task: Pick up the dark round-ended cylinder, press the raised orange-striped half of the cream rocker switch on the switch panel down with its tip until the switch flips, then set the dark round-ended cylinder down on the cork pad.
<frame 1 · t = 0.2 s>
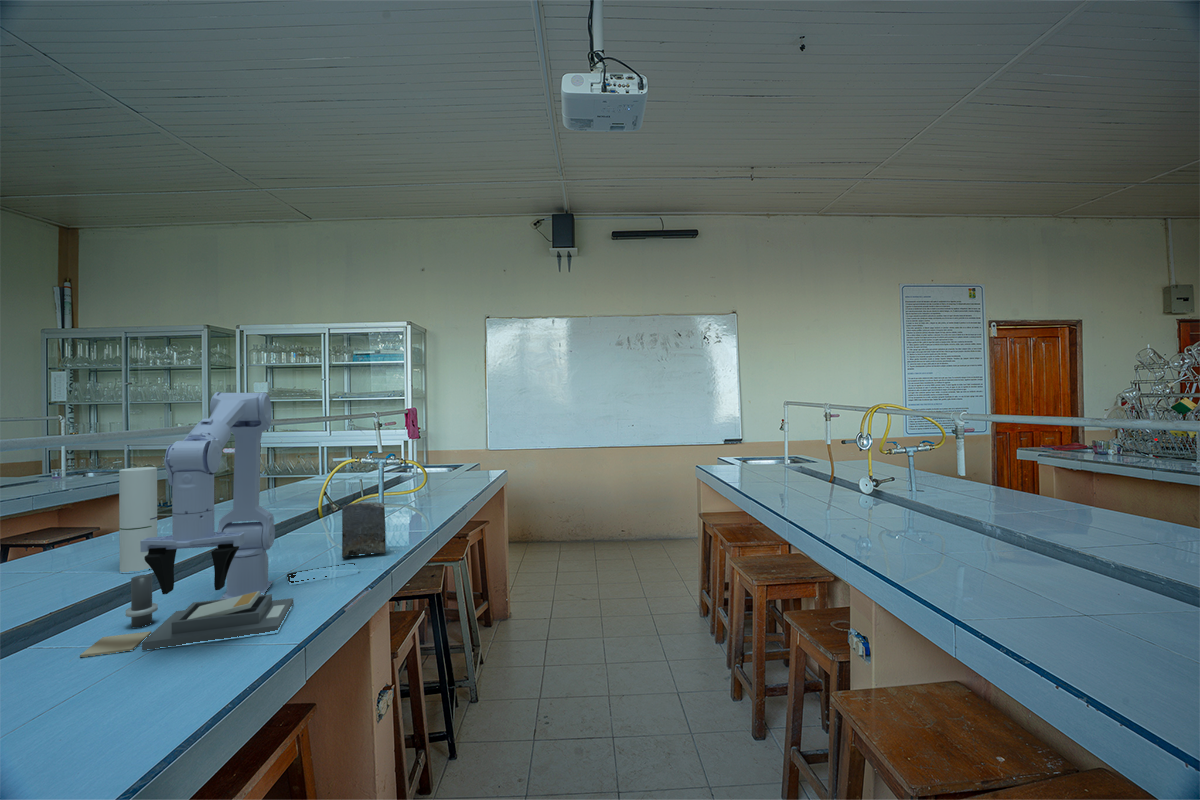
hand: (194, 590, 91), 10 cm above the worktop, tool pointing down, fingers open, 7 cm apart
phone: (323, 577, 129), on the worktop
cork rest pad: (117, 645, 92), on the worktop
cylindrical container: (138, 570, 133), on the worktop
geological specimen: (364, 557, 144), on the worktop
dark round-ended cylinder: (141, 624, 101), on the worktop
rocker switch: (224, 606, 100), point 4 cm above the worktop, hinge at 10.0°
switch panel: (225, 626, 100), on the worktop
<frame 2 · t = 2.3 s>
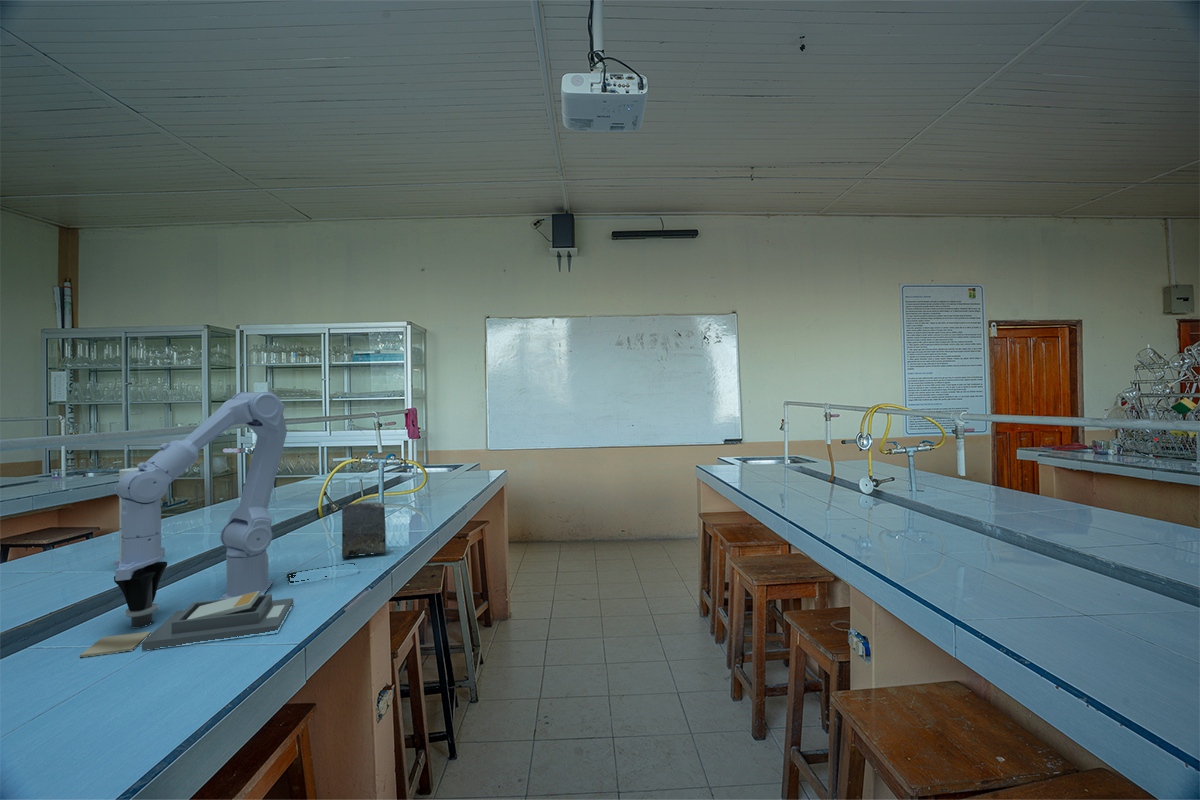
hand: (141, 606, 101), 3 cm above the worktop, tool pointing down, fingers closed on dark round-ended cylinder, 3 cm apart
dark round-ended cylinder: (141, 624, 101), on the worktop, touching gripper
everything else where it was.
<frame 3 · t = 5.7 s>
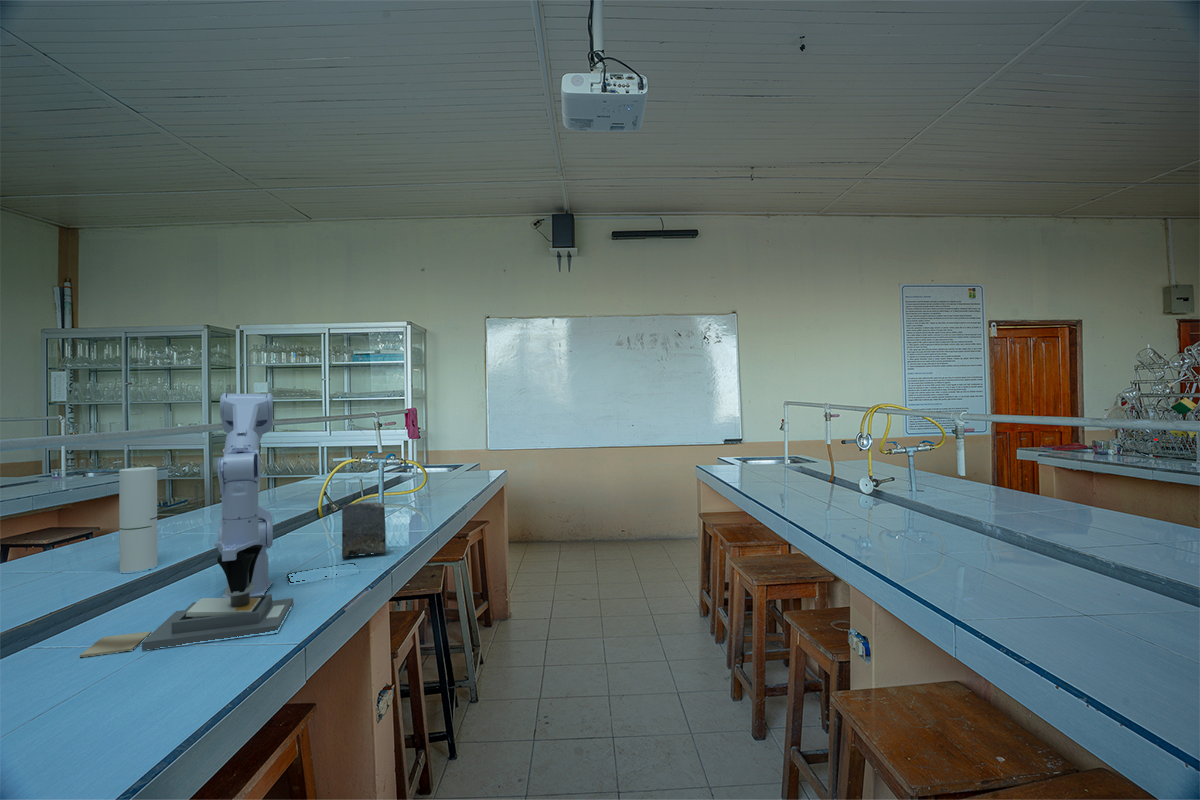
hand: (241, 588, 101), 7 cm above the worktop, tool pointing down, fingers closed on dark round-ended cylinder, 3 cm apart
dark round-ended cylinder: (240, 603, 101), point 4 cm above the worktop, touching gripper, rocker switch
rocker switch: (225, 606, 100), point 4 cm above the worktop, hinge at -7.0°, touching dark round-ended cylinder
everything else where it was.
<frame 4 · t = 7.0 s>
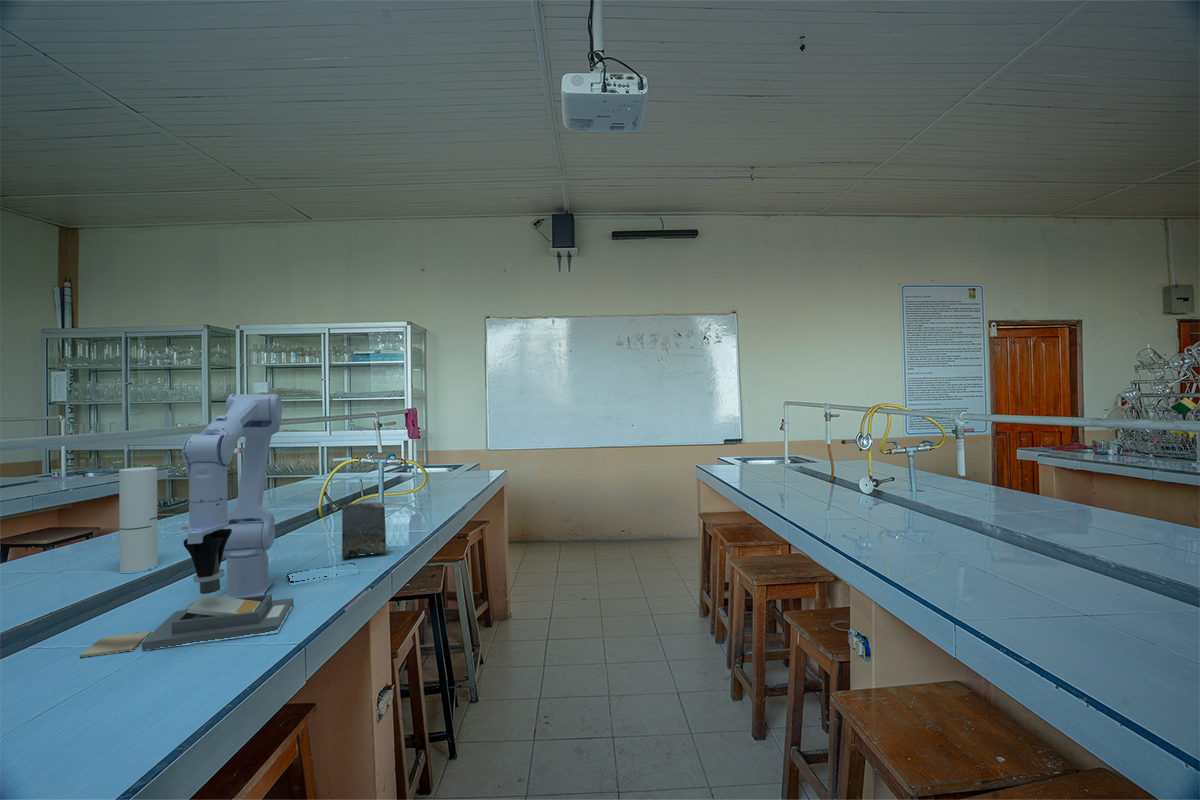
hand: (208, 573, 98), 10 cm above the worktop, tool pointing down, fingers closed on dark round-ended cylinder, 3 cm apart
dark round-ended cylinder: (210, 590, 99), point 7 cm above the worktop, touching gripper
rocker switch: (225, 606, 100), point 4 cm above the worktop, hinge at -15.1°
everything else where it was.
when the fingers open (5 cm above the worktop, at t = 9.1 s): dark round-ended cylinder stays where it is, resting on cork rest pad.
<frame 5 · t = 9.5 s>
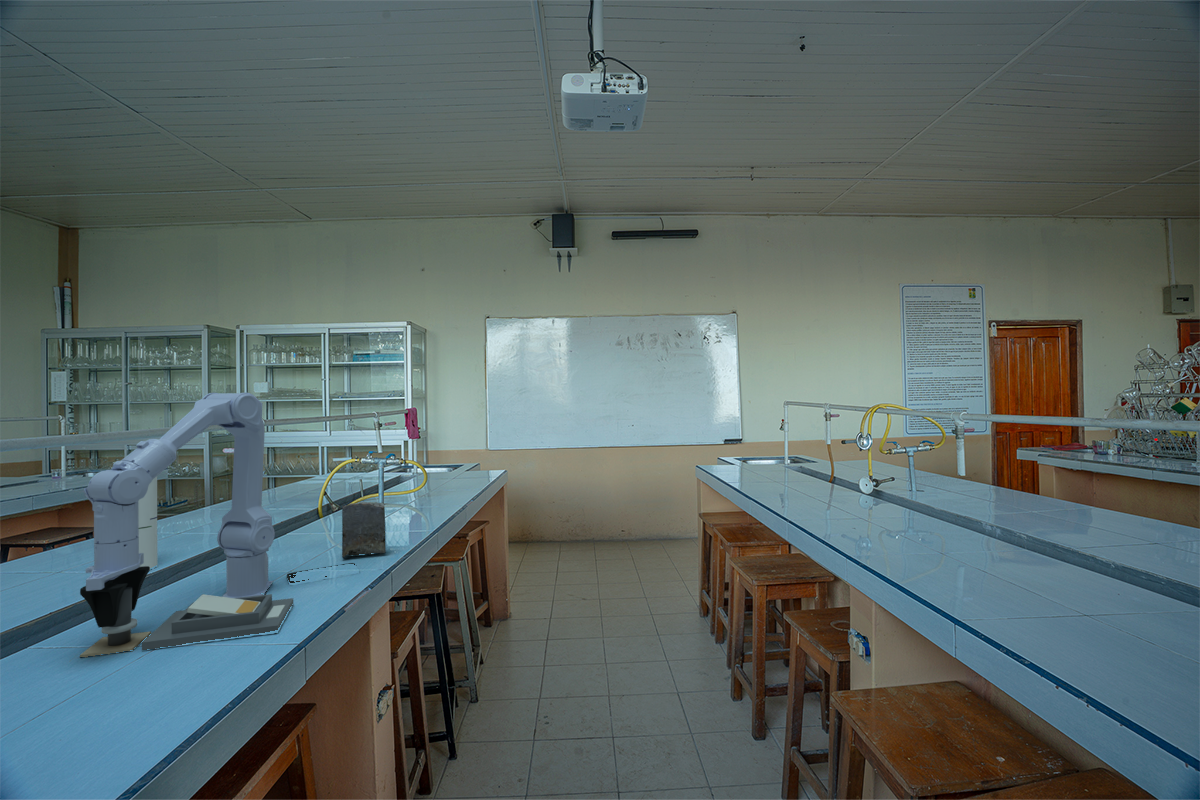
hand: (117, 618, 92), 5 cm above the worktop, tool pointing down, fingers open, 6 cm apart
dark round-ended cylinder: (119, 642, 92), point 1 cm above the worktop, touching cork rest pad
rocker switch: (225, 606, 100), point 4 cm above the worktop, hinge at -15.6°
everything else where it was.
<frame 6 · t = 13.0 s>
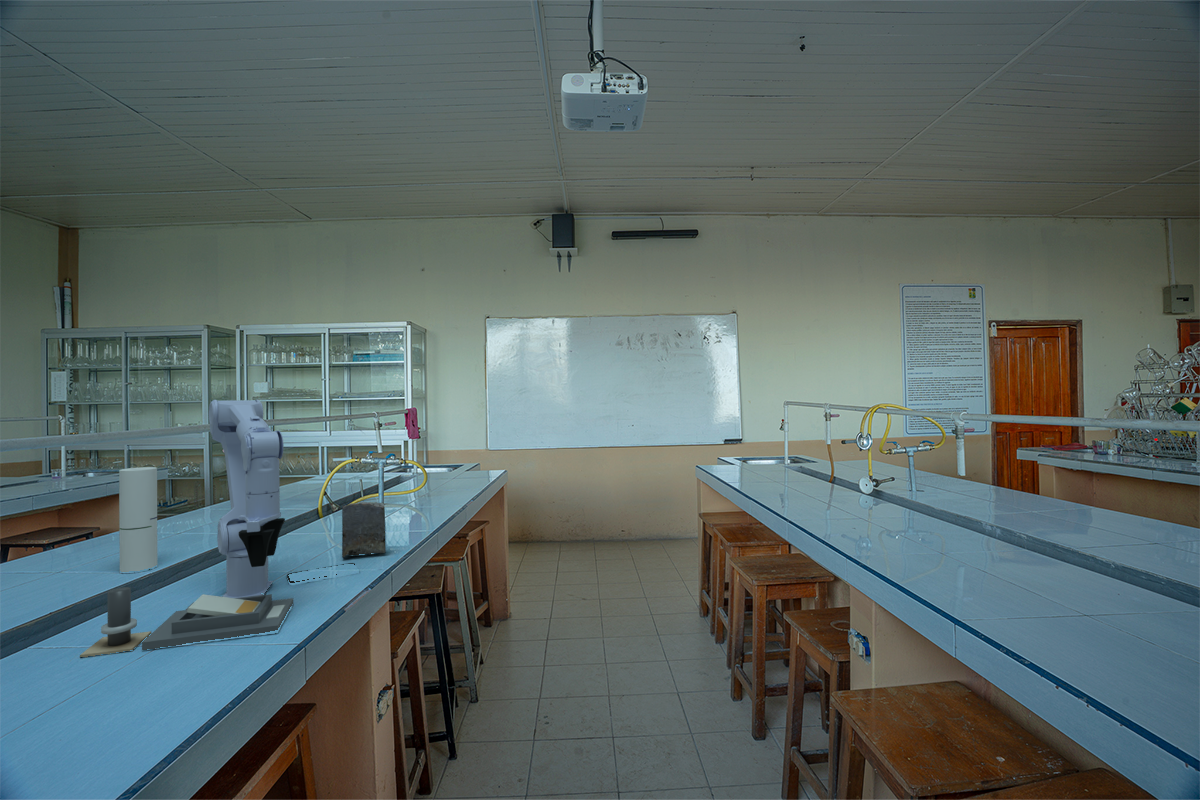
hand: (263, 560, 106), 10 cm above the worktop, tool pointing down, fingers open, 7 cm apart
nothing on the worktop moved.
at the end: rocker switch at -16° (first picture: +10°); dark round-ended cylinder inside the target area (0.3 cm from its centre), point 0.5 cm above the worktop; the gripper is holding nothing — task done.
